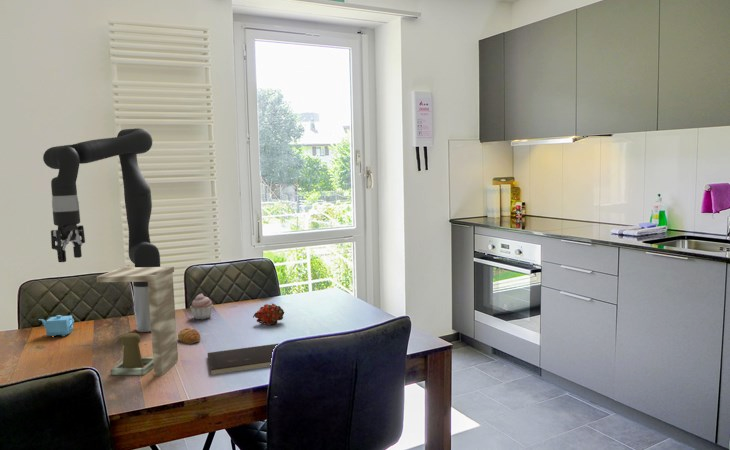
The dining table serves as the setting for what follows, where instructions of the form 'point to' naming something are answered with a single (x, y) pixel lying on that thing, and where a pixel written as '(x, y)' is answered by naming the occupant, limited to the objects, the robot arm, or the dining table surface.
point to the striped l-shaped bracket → (153, 316)
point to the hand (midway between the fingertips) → (70, 259)
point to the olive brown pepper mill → (131, 351)
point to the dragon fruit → (269, 314)
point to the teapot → (58, 325)
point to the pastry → (189, 336)
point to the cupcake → (201, 307)
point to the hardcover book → (240, 359)
